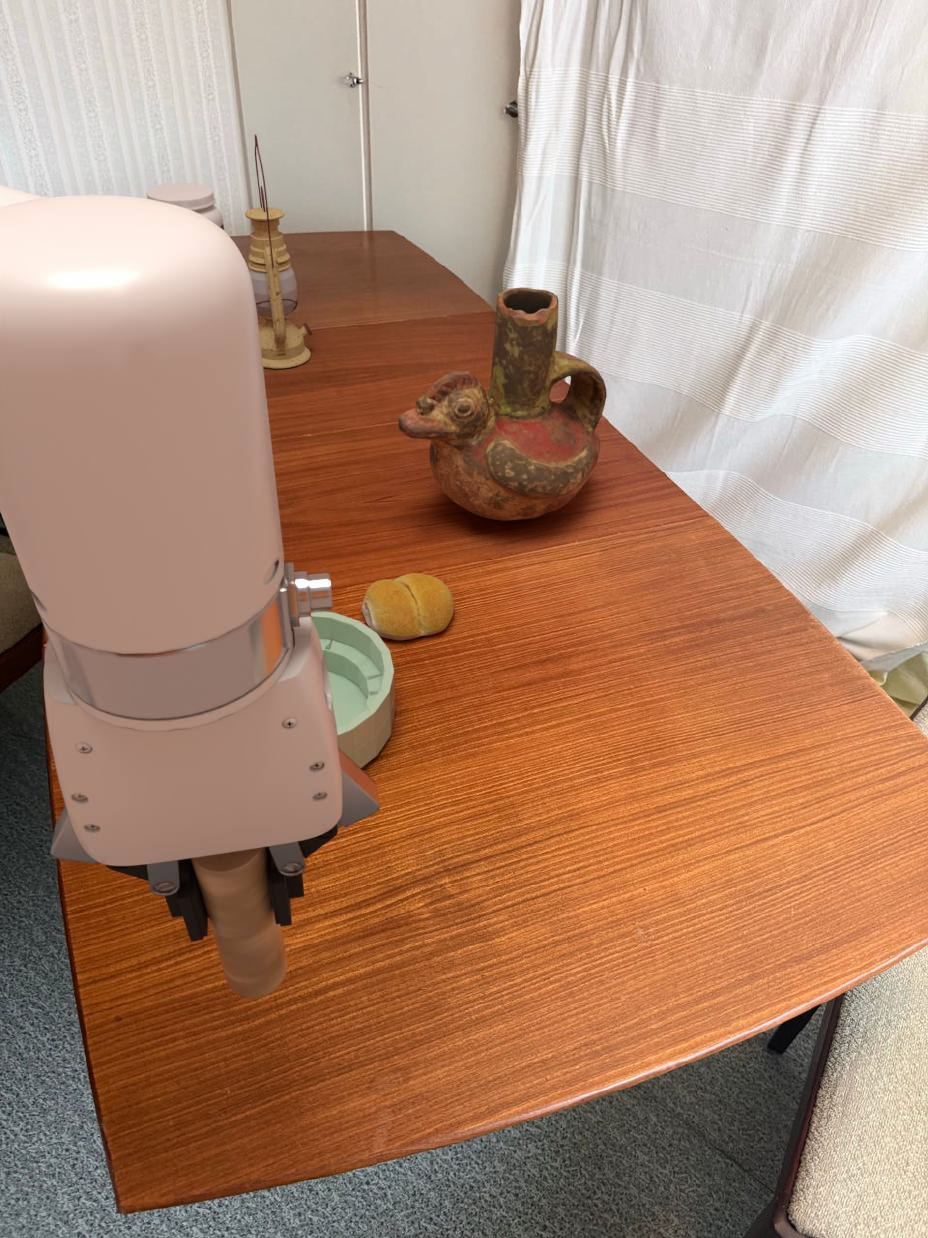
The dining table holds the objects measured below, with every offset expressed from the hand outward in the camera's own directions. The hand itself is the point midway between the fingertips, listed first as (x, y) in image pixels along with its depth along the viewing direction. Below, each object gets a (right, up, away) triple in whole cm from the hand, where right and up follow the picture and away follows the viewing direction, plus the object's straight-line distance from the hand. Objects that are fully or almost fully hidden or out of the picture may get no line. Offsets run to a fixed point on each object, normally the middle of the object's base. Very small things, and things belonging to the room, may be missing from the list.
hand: (241, 903), depth 39 cm
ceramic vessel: (+15, +26, +59) cm, 66 cm away
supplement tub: (-36, +69, +104) cm, 130 cm away
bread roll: (+5, +14, +44) cm, 46 cm away
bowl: (-3, +5, +33) cm, 33 cm away
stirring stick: (0, -5, +4) cm, 7 cm away
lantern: (-17, +54, +88) cm, 105 cm away
